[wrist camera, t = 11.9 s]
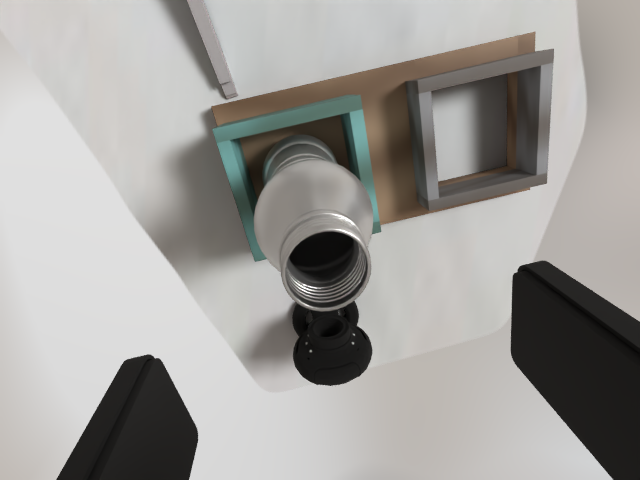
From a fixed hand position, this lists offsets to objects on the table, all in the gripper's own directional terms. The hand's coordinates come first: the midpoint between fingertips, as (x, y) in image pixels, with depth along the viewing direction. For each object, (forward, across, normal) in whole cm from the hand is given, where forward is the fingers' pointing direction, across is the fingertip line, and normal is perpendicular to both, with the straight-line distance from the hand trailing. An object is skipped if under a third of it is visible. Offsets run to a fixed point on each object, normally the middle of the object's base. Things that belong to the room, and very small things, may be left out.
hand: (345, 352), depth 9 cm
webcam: (+26, +1, +18) cm, 32 cm away
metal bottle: (+25, 0, 0) cm, 25 cm away
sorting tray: (+26, -8, +1) cm, 27 cm away
